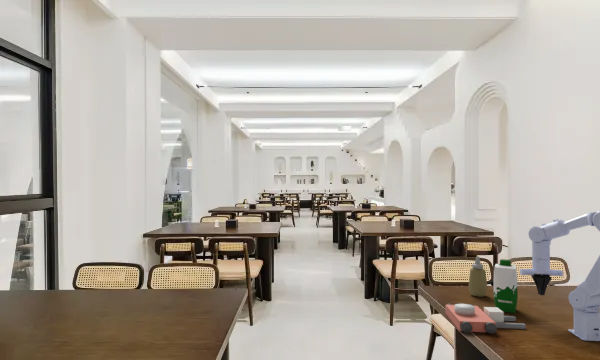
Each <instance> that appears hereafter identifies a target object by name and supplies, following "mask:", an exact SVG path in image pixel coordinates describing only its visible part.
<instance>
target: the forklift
mask: <svg viewBox="0 0 600 360" xmlns="http://www.w3.org/2000/svg"><path fill="white" fill-rule="evenodd" d="M444 310H445V315H446V316H447V317H448V319H449V320H450V321H451V322H452V324H453V325H454V326H455V327H456V329H457V330H458V331H459V332H463V333H465V334H469V333H487V334H489V335H494V334H496V333H497V331H498V330H497V329H517V330H519V329H521V330H526V327H527V325H526V324H525V323H520V322H519V323H518V322H517V317H516V316H515V315H514V316H513V315H504V323H498V322H494V321H493V320H492V319H491V318H490V317H489V316H488V315H487V314H486V313H484V310H482V309H481V308H480V307H479V306H478V305H474V304H472V303H470V304H469V303H455V304H452V303H447V304H445V307H444Z"/></svg>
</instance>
